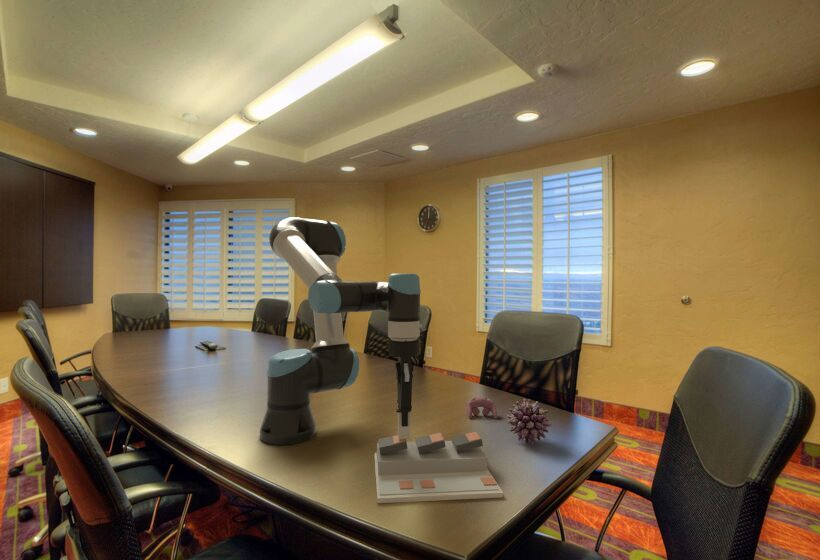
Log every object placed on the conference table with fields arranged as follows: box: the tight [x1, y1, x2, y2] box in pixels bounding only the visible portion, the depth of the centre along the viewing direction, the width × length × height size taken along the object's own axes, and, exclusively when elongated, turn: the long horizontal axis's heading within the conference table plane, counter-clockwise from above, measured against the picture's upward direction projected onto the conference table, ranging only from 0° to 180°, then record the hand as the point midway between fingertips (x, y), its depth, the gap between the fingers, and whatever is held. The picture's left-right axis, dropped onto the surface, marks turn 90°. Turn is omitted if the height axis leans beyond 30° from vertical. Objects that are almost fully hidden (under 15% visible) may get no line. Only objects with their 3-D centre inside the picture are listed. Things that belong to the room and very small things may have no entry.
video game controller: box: [465, 397, 498, 420], centre depth 128 cm, size 10×5×7 cm, turn 93°
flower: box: [506, 398, 552, 445], centre depth 108 cm, size 12×12×12 cm
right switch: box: [450, 431, 484, 452], centre depth 94 cm, size 6×5×2 cm
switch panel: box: [374, 440, 504, 504], centre depth 89 cm, size 26×20×4 cm
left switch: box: [377, 434, 408, 455], centre depth 91 cm, size 6×5×2 cm
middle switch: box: [414, 432, 446, 454], centre depth 92 cm, size 6×5×2 cm
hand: (404, 437), depth 91 cm, fingers closed
